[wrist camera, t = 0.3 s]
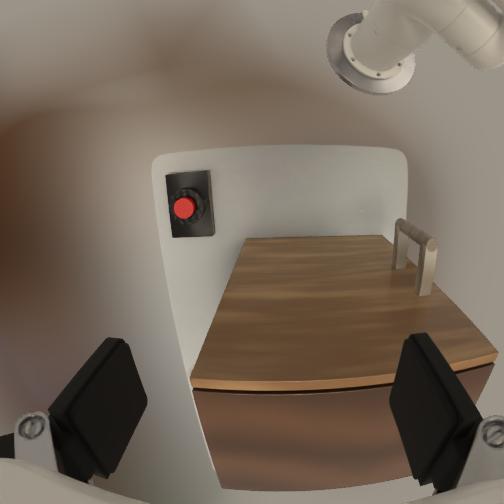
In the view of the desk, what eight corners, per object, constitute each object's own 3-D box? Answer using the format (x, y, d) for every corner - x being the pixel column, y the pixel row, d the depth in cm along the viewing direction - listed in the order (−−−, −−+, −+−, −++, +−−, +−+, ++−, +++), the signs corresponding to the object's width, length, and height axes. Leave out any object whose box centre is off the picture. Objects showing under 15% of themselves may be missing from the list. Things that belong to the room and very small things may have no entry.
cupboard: (246, 244, 57) (191, 390, 21) (381, 241, 54) (495, 364, 18) (252, 325, 63) (221, 488, 27) (373, 321, 60) (434, 469, 24)
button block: (169, 174, 54) (161, 175, 50) (209, 170, 53) (204, 171, 50) (176, 234, 58) (169, 240, 54) (215, 233, 57) (210, 238, 53)
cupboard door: (243, 202, 55) (172, 299, 19) (383, 200, 52) (521, 281, 16) (246, 243, 57) (191, 387, 21) (382, 240, 54) (495, 361, 18)
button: (176, 197, 52) (172, 199, 50) (195, 196, 52) (192, 197, 50) (178, 217, 53) (175, 219, 51) (197, 216, 53) (194, 218, 51)
